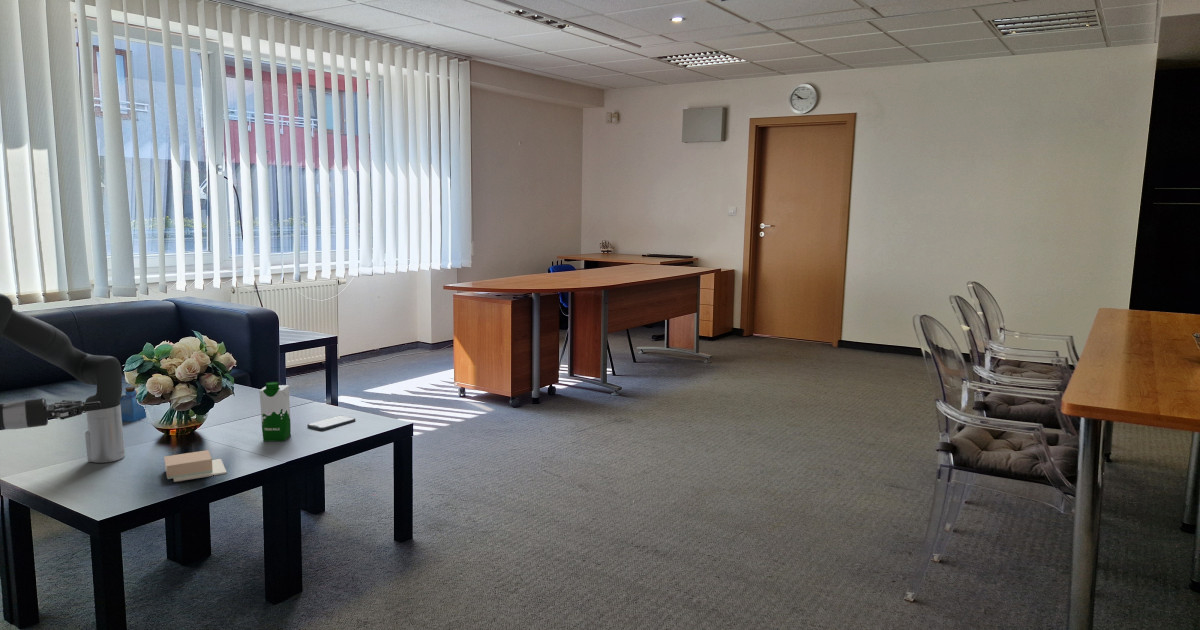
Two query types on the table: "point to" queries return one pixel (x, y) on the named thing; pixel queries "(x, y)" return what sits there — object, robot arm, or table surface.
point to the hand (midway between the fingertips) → (100, 405)
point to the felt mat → (217, 470)
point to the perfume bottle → (131, 407)
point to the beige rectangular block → (188, 464)
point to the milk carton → (275, 412)
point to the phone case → (330, 423)
